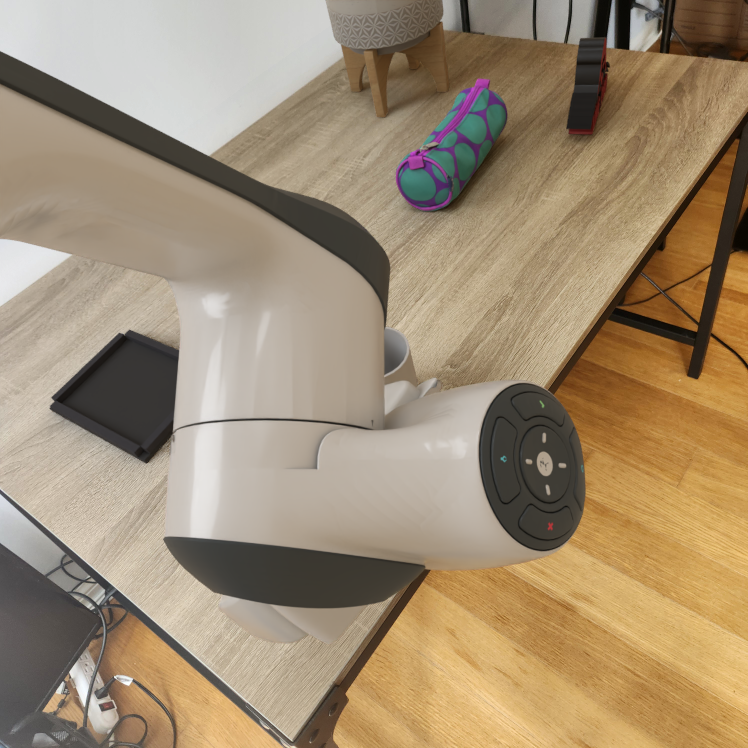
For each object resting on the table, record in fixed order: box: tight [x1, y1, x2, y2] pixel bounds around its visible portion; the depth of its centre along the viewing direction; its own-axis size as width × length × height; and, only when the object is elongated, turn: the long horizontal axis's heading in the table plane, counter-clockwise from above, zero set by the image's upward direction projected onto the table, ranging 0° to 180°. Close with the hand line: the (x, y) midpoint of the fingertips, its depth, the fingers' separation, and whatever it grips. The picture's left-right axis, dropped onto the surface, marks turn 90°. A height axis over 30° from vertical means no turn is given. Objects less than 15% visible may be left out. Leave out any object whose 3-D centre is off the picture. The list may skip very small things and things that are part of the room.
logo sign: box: [566, 36, 611, 135], centre depth 97 cm, size 18×4×11 cm, turn 159°
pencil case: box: [395, 78, 509, 212], centre depth 94 cm, size 21×9×10 cm, turn 151°
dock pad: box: [49, 329, 179, 464], centre depth 80 cm, size 18×14×2 cm
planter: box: [325, 0, 450, 118], centre depth 108 cm, size 19×19×26 cm
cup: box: [384, 326, 419, 387], centre depth 69 cm, size 7×10×9 cm
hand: (296, 505), depth 52 cm, fingers open, 8 cm apart
